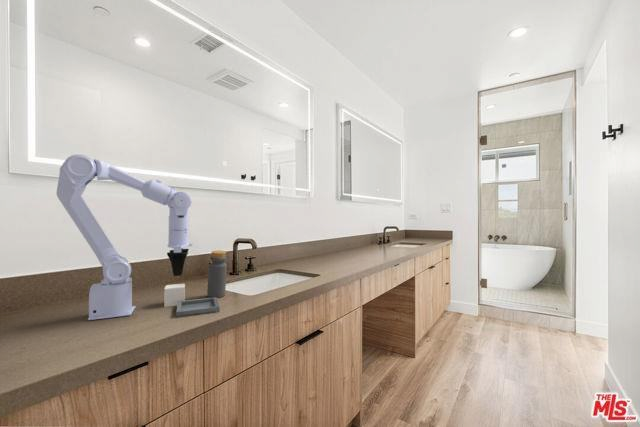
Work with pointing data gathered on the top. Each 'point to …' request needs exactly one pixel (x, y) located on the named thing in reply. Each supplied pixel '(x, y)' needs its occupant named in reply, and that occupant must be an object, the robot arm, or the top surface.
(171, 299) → the ceramic cube
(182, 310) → the slate tray
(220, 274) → the bottle
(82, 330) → the top surface
